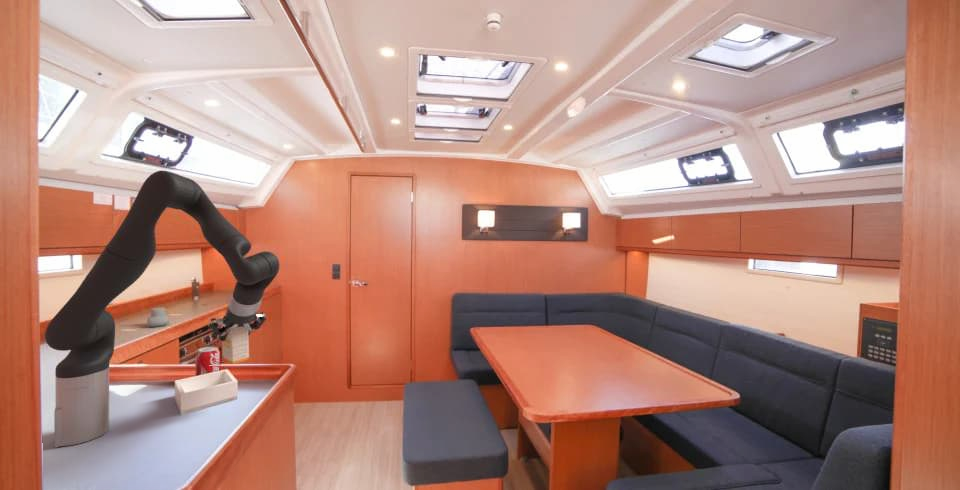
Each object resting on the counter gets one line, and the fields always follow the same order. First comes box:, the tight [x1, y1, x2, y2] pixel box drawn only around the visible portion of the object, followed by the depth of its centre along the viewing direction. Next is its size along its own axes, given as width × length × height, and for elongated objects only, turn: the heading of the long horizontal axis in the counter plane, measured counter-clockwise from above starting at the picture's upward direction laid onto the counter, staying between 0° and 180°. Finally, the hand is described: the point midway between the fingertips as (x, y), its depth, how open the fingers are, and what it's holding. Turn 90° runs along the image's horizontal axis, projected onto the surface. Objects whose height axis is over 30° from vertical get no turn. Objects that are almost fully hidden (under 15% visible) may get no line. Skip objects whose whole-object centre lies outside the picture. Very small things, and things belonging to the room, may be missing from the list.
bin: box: [174, 368, 239, 416], centre depth 111 cm, size 14×14×6 cm
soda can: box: [195, 345, 221, 376], centre depth 124 cm, size 7×7×12 cm
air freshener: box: [147, 306, 170, 328], centre depth 194 cm, size 11×8×10 cm
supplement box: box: [220, 316, 250, 364], centre depth 106 cm, size 8×5×13 cm, turn 54°
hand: (233, 337), depth 107 cm, fingers closed on supplement box, 5 cm apart
